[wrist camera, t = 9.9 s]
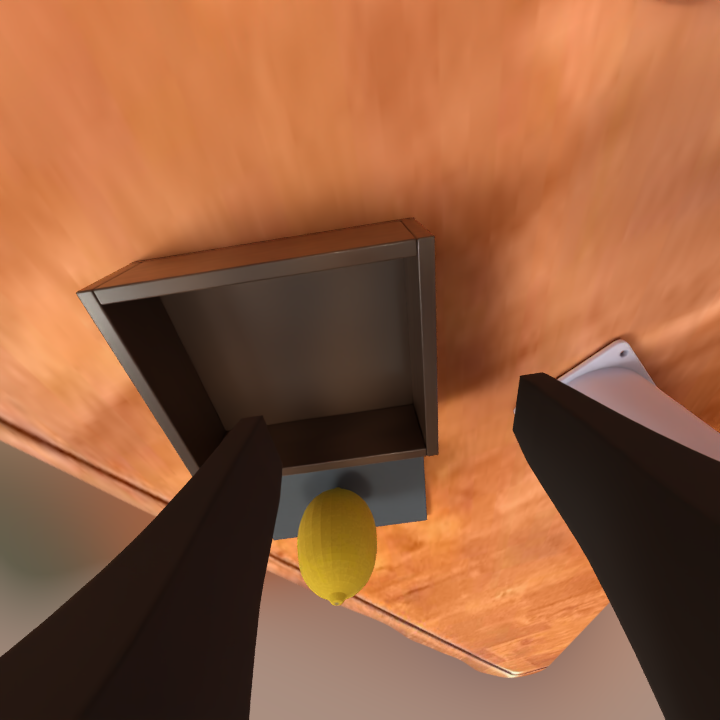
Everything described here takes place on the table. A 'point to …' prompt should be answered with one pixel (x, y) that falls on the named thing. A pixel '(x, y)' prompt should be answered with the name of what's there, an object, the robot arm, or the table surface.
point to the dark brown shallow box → (285, 344)
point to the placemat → (371, 482)
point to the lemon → (337, 545)
